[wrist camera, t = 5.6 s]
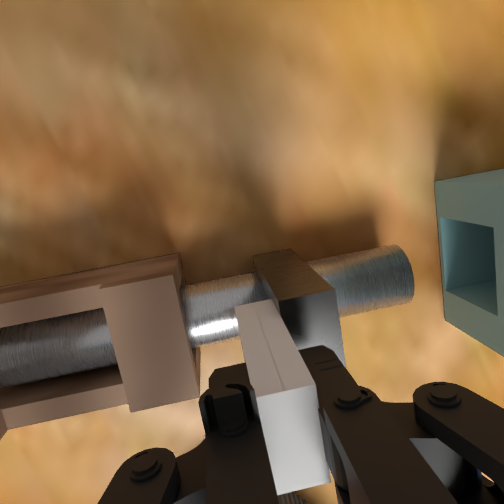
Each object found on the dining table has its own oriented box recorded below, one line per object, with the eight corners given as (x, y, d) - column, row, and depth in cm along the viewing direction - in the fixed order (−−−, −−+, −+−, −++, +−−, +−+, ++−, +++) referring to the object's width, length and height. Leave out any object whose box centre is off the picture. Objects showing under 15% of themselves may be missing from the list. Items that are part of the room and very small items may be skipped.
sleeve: (-28, 400, 22) (-89, 460, 17) (-63, 299, 20) (-138, 335, 16) (200, 351, 22) (200, 397, 18) (179, 252, 21) (172, 274, 17)
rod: (16, 380, 21) (-84, 491, 14) (-8, 306, 20) (-127, 384, 13) (390, 302, 23) (479, 364, 15) (382, 230, 22) (472, 261, 14)
